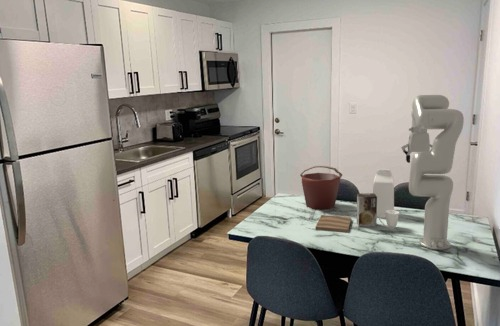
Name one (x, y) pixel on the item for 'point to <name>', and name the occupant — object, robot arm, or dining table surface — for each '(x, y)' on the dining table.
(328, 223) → the walnut board
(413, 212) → the dining table surface
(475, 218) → the dining table surface
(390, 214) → the cup
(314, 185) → the bucket
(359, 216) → the coffee box
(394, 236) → the dining table surface
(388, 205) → the milk
